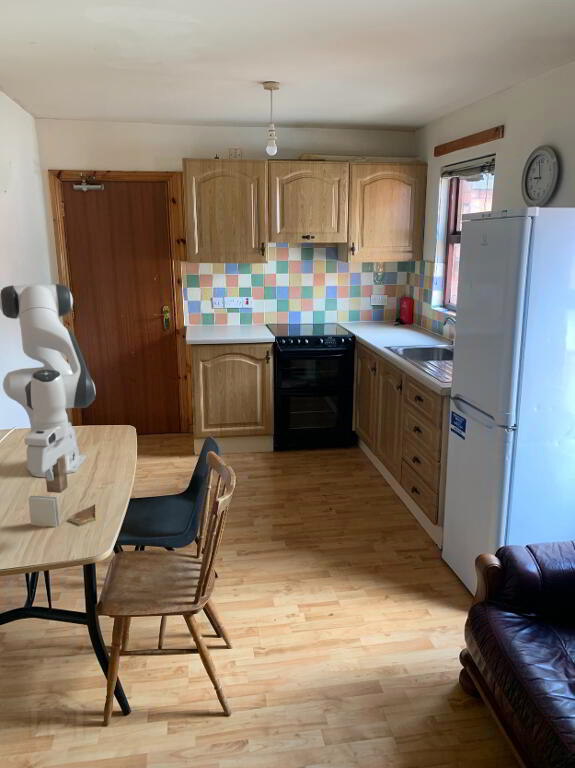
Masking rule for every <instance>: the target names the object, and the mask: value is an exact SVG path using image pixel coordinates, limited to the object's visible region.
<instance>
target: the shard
mask: <svg viewBox="0 0 575 768" xmlns="http://www.w3.org/2000/svg"><path fill="white" fill-rule="evenodd" d="M96 511H97V510H96V504H92V505H91V506H88V507H87V508H84V509H82V510H80V511H78V512H76V513H74V514H73V515H70V516H69V517H68V519H67V520H68V522H71V521H72V522H71V523H75V524H77V525H79V524H80V525H79V526H82V525H85V524H89V523H92V521H93V522H96V520H97V518H96V516H97V515H96ZM88 522H89V523H88ZM84 523H85V524H84Z"/></svg>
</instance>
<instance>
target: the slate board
mask: <svg viewBox="0 0 575 768" xmlns="http://www.w3.org/2000/svg"><path fill="white" fill-rule="evenodd" d="M28 507H29V517H30V525H31V526H32V525H36V527H47V526H52V527H51V528H57V527H59V525H60V520H59V510H58V501H57V496H43V495H41V496H40V495H30V496H28Z"/></svg>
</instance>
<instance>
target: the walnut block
mask: <svg viewBox="0 0 575 768" xmlns="http://www.w3.org/2000/svg"><path fill="white" fill-rule="evenodd" d="M52 472H53V473H55V479H54V480H53V481H48V480H47V477H45V482H46V484H45V485H46V492H47V493H56V494H62V492H65V491H66V489H67V488H68V477H67V476H68V475H67V474H68V473H66V463H65V454H64V455H62V456H61V457H59V458H58V459H57V463H56V464H55V465H53V469H52ZM45 475H46V474H45Z"/></svg>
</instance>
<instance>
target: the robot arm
mask: <svg viewBox="0 0 575 768" xmlns="http://www.w3.org/2000/svg"><path fill="white" fill-rule="evenodd" d="M73 304H74V298H73V294H72V293H71V291H70V289H69V287H68V286H66V285H65V284H60V283H56V284H49V283H34V284H32V283H31V284H22V285H21V284H20V285H15V286H14V285H13V284H12V285H7V286H5V287H3V288H2V289H0V310H1V312H2V315H3V316H5V317H6V318H9V319H15V320H17V319H18V320H19V326H20V334H21V344H22V351H23V353H24V354H25V356H27V357H29V358H30V359H31V360H35V361H37V362H40V363H42V364H43V366H39V367H29V368H27V367H26V368H19V369H15V370H12V371H9V372H7V374H6V375H5V376H4V377H3V382H2V386H3V387H2V388H3V391H4V393H5V395H6V396H7V397H8V398H10V399H11V400H13V401H15V402H16V403H18V404H19V405H21V407H23V410H25V411H26V413H27V415H28V416H27V417H28V419H29V424H30V430H29V431H28V433H27V434H26V436H25V437H24V444H25V445H26V446H27V447H26V461H27V468H26V469H28V470H27V471H29V472H30V474H31V476H34V477H38V478H46V477H47V480H48V481H53V480H54V479H55V473H53V472H52V469H53V465H55V464H56V463H57V459H58V458H59V457H61V456H62V455H64V454H65V463H66V474H71V473H75V472H77V471H78V469H79V468H80V467H81V465H82V464H83V462H84V461H85V459H86V456H87V455H85V454H82V453H80V451H79V447H78V444H77V437H76V431H75V429H74V427H73V426H72V422H70V420H69V417H68V414H67V412H66V409H71V408H74V409H86V408H88V407H89V406H90V405H91V404H92V403H93V402H94V401H95V399H96V394H97V393H96V385H95V383H94V381H93V379H92V377H91V375H90V372H89V370H88V368H87V365H86V363H85V360H84V358H83V354H82V352H81V349H80V347H79V343H78V341H77V339H76V336H75V335H74V333H73V331H72V330H71V329H69V328H67V327H66V326H64V324H62V322H61V321H60V319H59V318H61V317H65V316H66V315H67V316H68V315H69V313H70V312H71V311H72V308H73ZM62 354H63V355H64V356H65V357H66V358H67V361H66V360H65V359H64V357H63V356H62ZM45 474H46V475H45Z"/></svg>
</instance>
